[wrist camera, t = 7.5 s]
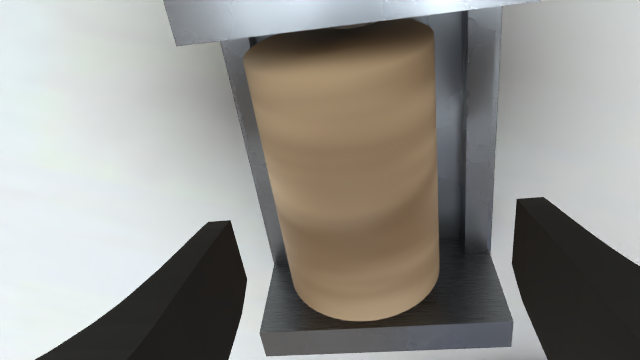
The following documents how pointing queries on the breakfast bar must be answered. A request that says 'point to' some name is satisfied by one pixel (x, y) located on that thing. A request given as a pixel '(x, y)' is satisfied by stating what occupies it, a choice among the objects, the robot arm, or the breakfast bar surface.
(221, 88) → the breakfast bar surface
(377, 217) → the cylinder
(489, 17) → the holder
